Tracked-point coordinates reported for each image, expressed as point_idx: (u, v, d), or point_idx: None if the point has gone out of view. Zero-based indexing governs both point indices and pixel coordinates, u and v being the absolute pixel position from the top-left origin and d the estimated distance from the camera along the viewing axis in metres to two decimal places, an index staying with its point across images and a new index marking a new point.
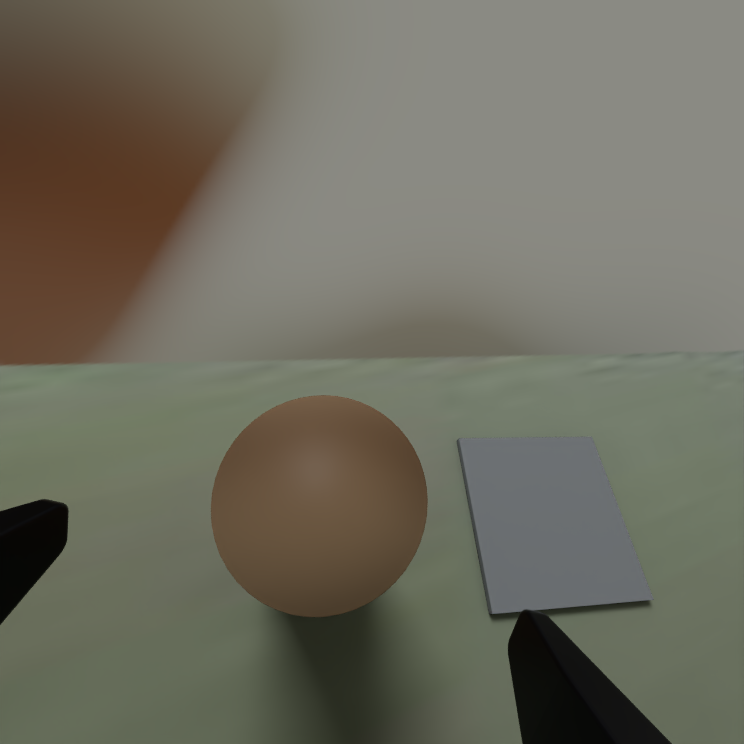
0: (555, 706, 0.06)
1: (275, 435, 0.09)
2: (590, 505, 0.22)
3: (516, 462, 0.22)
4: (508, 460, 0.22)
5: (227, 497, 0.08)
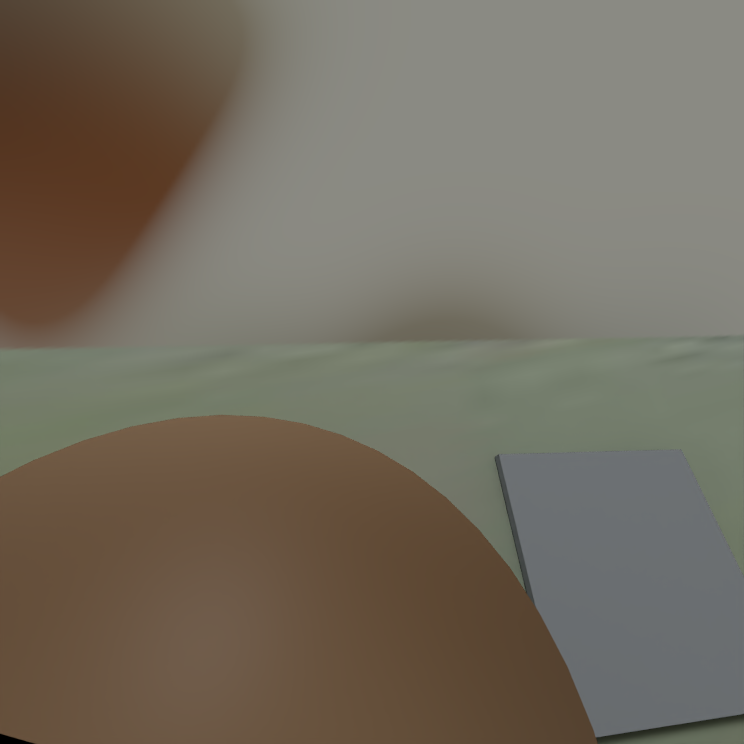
0: None
1: None
2: (693, 552, 0.15)
3: (582, 489, 0.16)
4: (570, 486, 0.16)
5: None
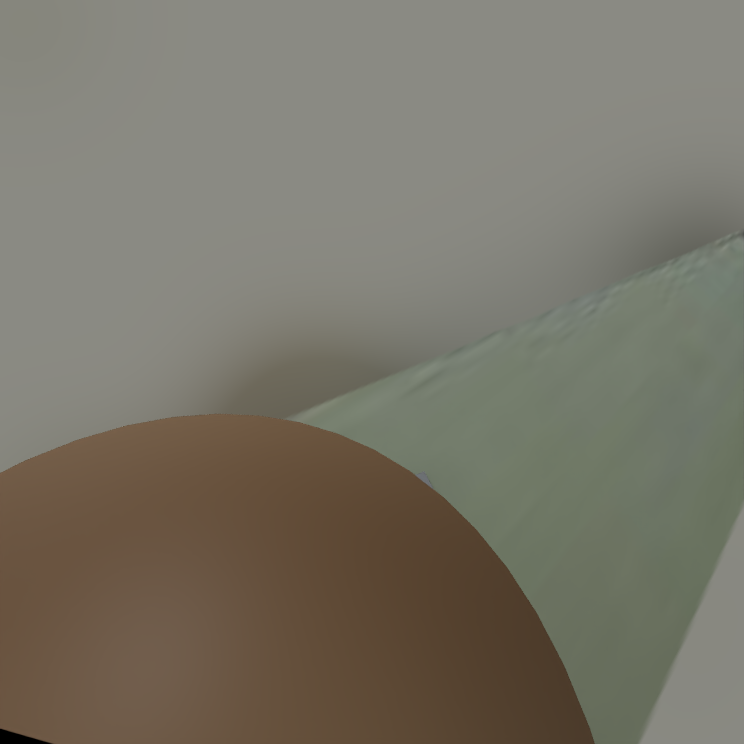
0: None
1: None
2: None
3: None
4: None
5: None
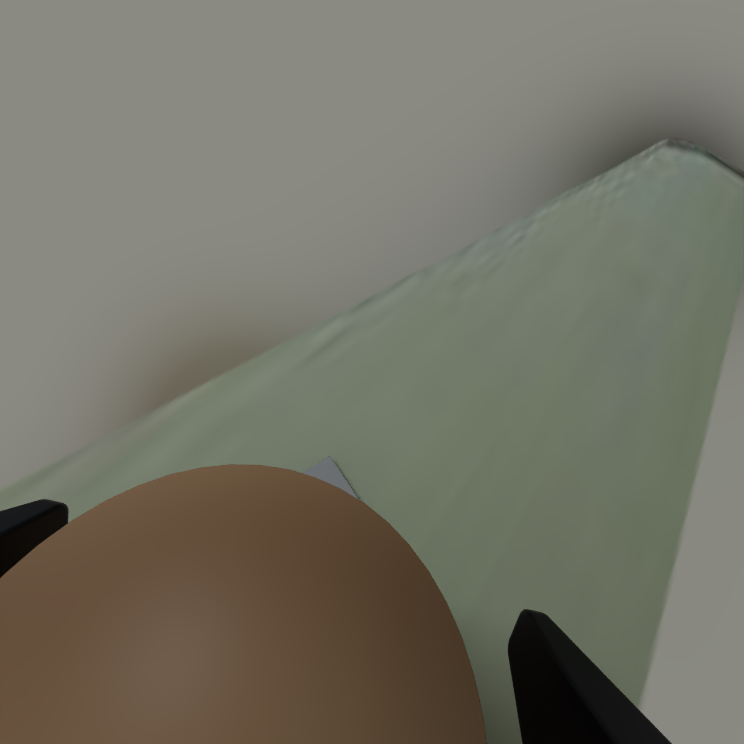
0: (555, 706, 0.06)
1: (90, 585, 0.04)
2: None
3: None
4: None
5: None
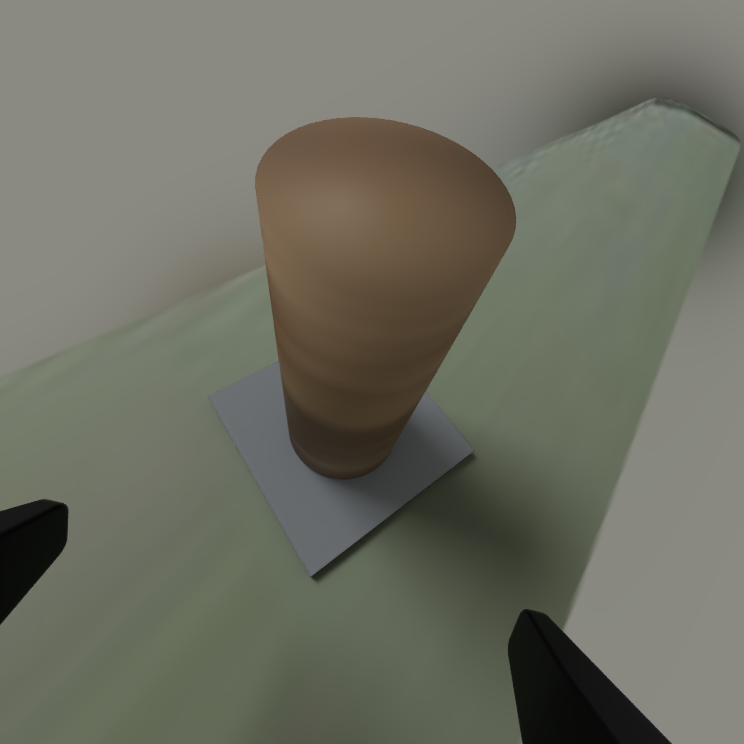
0: (555, 706, 0.06)
1: (326, 141, 0.08)
2: None
3: None
4: (278, 390, 0.18)
5: (274, 181, 0.07)
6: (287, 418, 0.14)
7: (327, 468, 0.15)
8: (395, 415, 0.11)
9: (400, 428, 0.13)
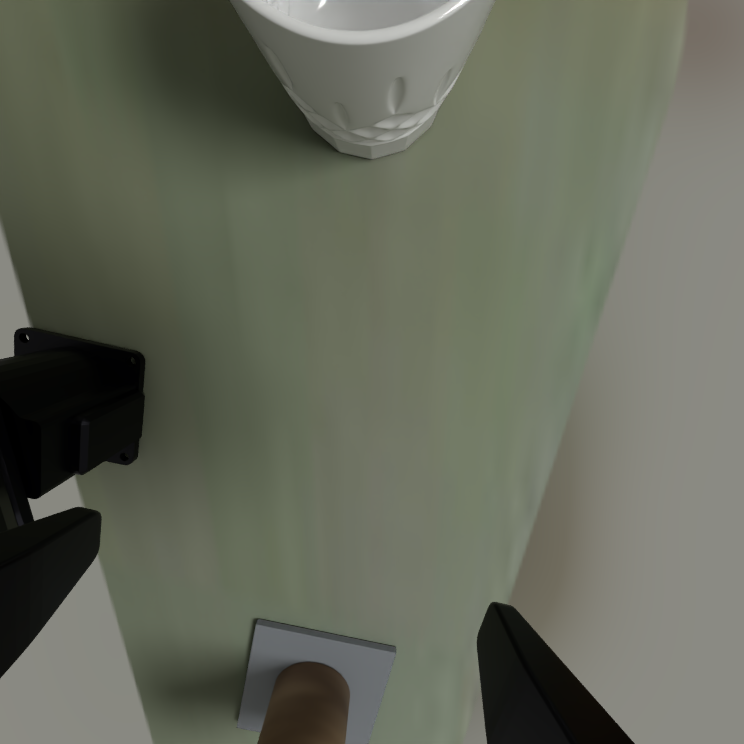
0: (515, 697, 0.06)
1: None
2: None
3: (360, 687, 0.24)
4: (364, 682, 0.24)
5: None
6: (320, 711, 0.21)
7: (287, 684, 0.23)
8: None
9: None
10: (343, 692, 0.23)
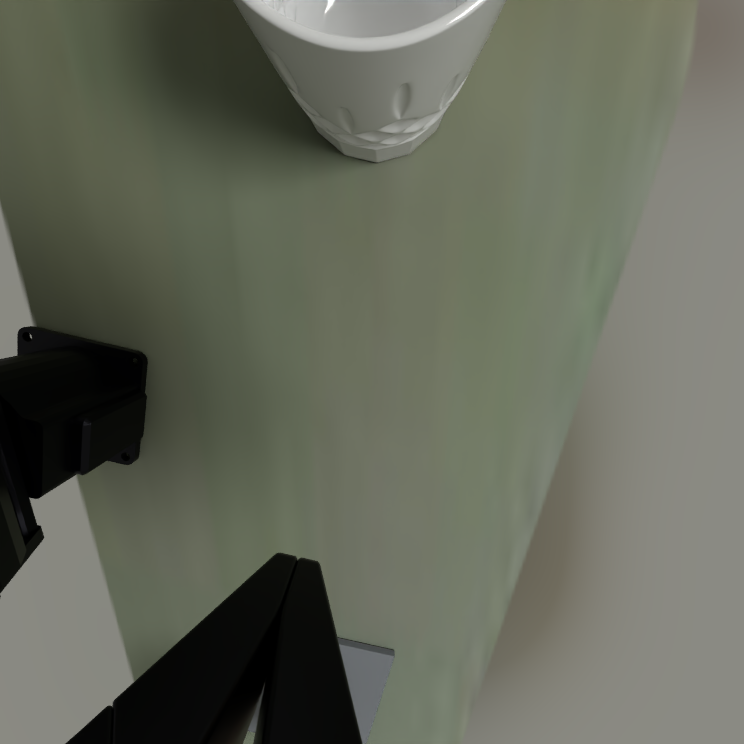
0: (274, 643, 0.06)
1: None
2: None
3: (358, 689, 0.24)
4: (362, 685, 0.24)
5: None
6: None
7: None
8: None
9: None
10: None
